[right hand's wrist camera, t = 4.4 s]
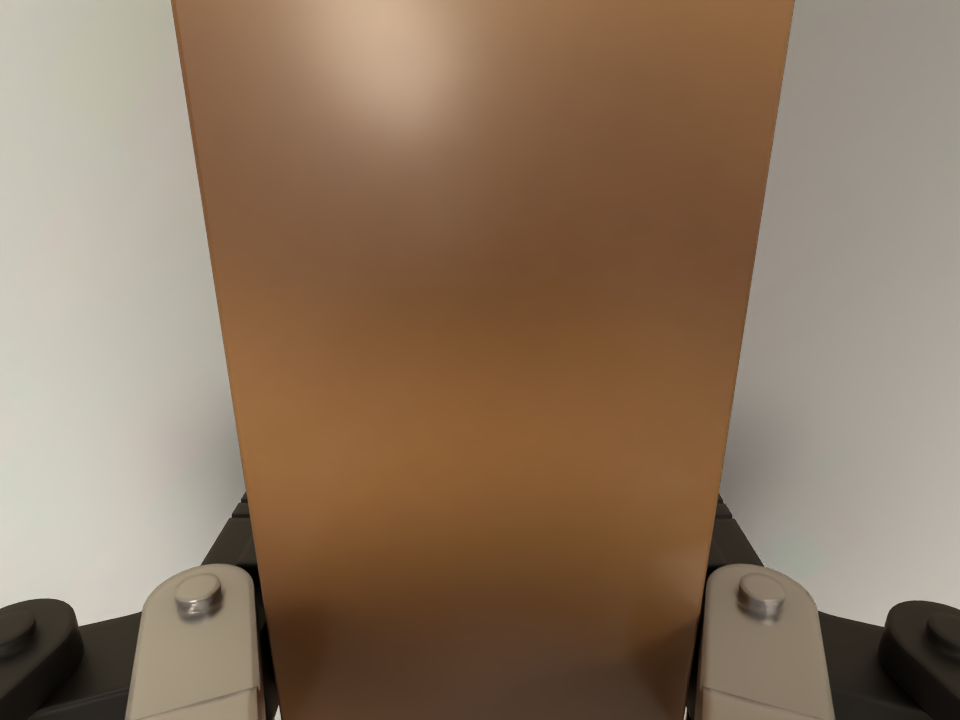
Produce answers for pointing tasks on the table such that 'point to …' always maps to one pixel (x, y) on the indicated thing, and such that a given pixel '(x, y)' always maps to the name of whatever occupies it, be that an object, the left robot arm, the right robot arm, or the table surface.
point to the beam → (482, 334)
